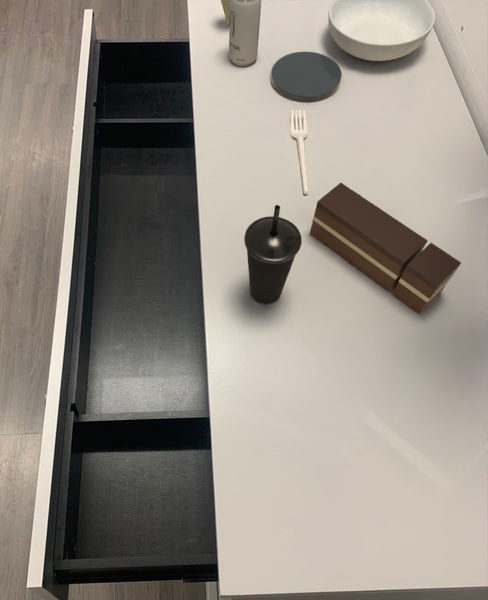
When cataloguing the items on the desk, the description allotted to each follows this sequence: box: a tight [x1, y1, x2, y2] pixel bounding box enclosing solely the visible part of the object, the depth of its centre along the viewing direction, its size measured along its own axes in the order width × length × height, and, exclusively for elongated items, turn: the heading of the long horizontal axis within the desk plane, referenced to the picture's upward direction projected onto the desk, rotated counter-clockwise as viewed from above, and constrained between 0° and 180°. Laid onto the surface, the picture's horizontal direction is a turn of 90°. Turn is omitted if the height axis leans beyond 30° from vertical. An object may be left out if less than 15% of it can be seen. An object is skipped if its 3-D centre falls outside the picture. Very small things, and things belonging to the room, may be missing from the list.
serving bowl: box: [327, 0, 436, 62], centre depth 110 cm, size 21×21×7 cm
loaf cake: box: [309, 182, 428, 293], centre depth 82 cm, size 6×16×8 cm, turn 42°
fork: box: [289, 109, 309, 195], centre depth 97 cm, size 3×20×2 cm, turn 178°
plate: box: [270, 51, 343, 103], centre depth 108 cm, size 14×14×2 cm
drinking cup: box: [243, 204, 303, 305], centre depth 74 cm, size 8×8×20 cm
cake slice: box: [391, 242, 462, 315], centre depth 78 cm, size 6×5×8 cm
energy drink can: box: [228, 0, 262, 67], centre depth 106 cm, size 6×6×15 cm
